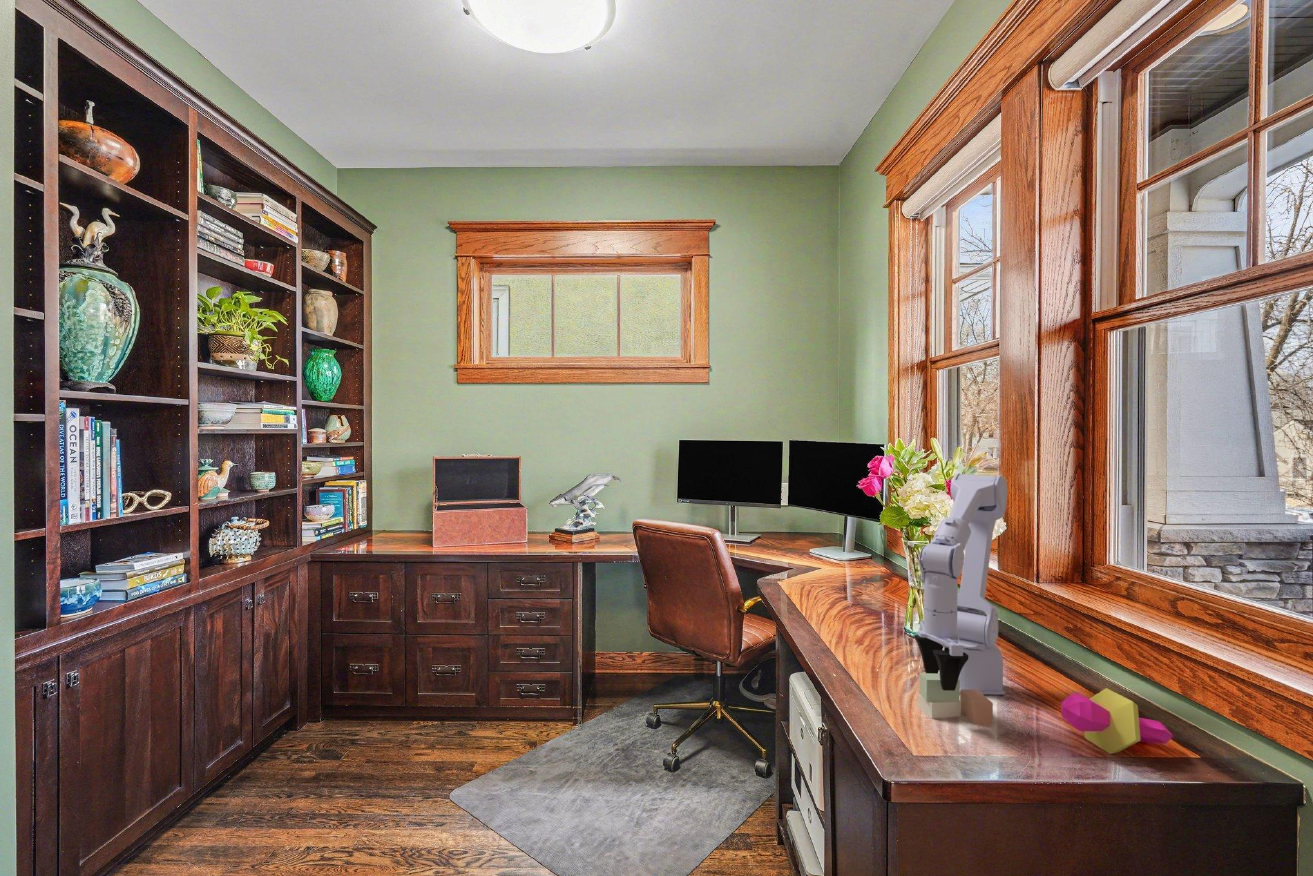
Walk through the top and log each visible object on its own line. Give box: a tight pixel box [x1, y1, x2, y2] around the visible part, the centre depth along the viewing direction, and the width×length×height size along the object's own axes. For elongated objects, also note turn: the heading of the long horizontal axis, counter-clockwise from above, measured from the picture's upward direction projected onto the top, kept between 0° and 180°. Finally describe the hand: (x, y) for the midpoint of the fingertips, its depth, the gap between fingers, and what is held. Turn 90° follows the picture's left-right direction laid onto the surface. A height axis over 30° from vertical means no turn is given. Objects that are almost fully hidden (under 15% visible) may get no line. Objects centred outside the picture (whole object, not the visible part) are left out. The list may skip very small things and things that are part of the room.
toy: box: [1060, 687, 1174, 755], centre depth 107 cm, size 10×18×10 cm, turn 94°
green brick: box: [919, 672, 960, 702], centre depth 119 cm, size 6×3×4 cm, turn 89°
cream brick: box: [918, 694, 962, 720], centre depth 120 cm, size 6×4×3 cm, turn 101°
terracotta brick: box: [959, 689, 994, 726], centre depth 118 cm, size 6×3×4 cm, turn 177°
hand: (939, 681), depth 120 cm, fingers open, 7 cm apart
